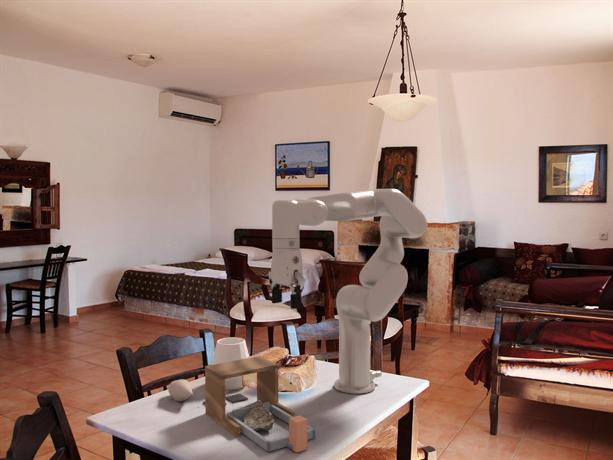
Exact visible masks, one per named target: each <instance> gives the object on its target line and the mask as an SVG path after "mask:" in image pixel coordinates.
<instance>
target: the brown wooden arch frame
mask: <svg viewBox="0 0 613 460" xmlns="http://www.w3.org/2000/svg"><path fill="white" fill-rule="evenodd" d="M255 373H256V402H257V401H258V400H260V401H261V402H262V403H265V402H270V405H271V404H272V405H274V406H276V407H278V408H279V409H281V410H283V411H284V412H286V413H288V414H289V415H291V416H293V417H296V415H295V414H296V413H295V411H294V410H292V409H291V408H289V407H287V406H285V405H283V404H281V403H280V402H279V364H278V363H277V362H274V361H271V360H270V359H267V358H266V357H263V356H262V355H261V356H260V355H257V356H252V357H249V358H246V359H241V360H236V361H230V362H225V363H220V364H214V365H212V364H210V365H205V366H204V381H205V382H204V385H205V387H204V389H205V390H204V393H205V394H204V396H205V397H204V398H205V400H204V401H202V404H203V405H204V406H205V414H206V416H208V417H210V418H211V419H212V420H214V421H215V422H216V423H217V424H219V425H220V426H222V427H223V428H224V429H225V430H227V431H228V432H230V433H231V434H232V435H233V436H235V437H236V438H238V437H241V432H240V426H239V425H238V424H236V423H235V422H233V421H232V420H231V419H229V418H228V416H226V406H227V403H226V401H228V402H230V403H232V404H236V403H240V402H244V401H248V400H249V398H248V397H247V396H245V395H243V394H242V393H235V394H231V395H228V396H226V389H225V379H228V378H233V377H238V376H243V375H248V374H252V375H253V374H255Z"/></svg>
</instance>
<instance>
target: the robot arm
mask: <svg viewBox="0 0 613 460" xmlns="http://www.w3.org/2000/svg"><path fill="white" fill-rule="evenodd" d="M271 206H272V208H271V211H272V213H271V215H272V216H271V217H272V218H271V220H272V221H271V222H272V224H271V227H272V228H271V229H272V230H271V231H272V232H271V233H272V234H271V235H272V236H271V237H272V238H271V239H272V254H271V268H270V269H271V270H269V271H268V279H269V283H270V290H271V304H279V303H280V304H281V303H283V288H282V286H283V287H289V289H290V292H291V293H290V296H289V298H290V309H292V310H294V309H295V310H296V309H301V308H302V294H303V290H304V288H305V283H306V278H305V277H304V268H303V267H304V266H303V258H302V252H301V250H300V226H309V227H314V226H315V227H317V226H319V225H322V224H323V223H325V221H326V222H327V221H328V222H329V221H332V222H350V221H356V220H361V219H367V218H368V219H369V218H375V217H380V220H379V232H380V244H379V246H378V248H377V249H376V251H375V252H374V253H373V254H372V255H371V257H370V258H369V260H367V262H366V263H365V264H364V266H363V267H362V269H361V270H360V273H359V275H358V276H359V277H358V278H359V282H360V284H361V285H359V284H348V285H345V286H342V288H340V289H339V290H338V292H337V295H336V298H335V303H336V304H335V305H336V311H337V317H338V325H339V326H338V328H339V329H338V331H339V334H338V335H339V337H338V340H339V341H338V343H339V344H338V346H339V347H338V349H339V350H338V360H339V361H338V379H336V380H335V381H333V387H334V389H335V390H337V391H339V392H342V393H346V394H366V393H370V392H372V391H374V390H375V388H376V383H375V382H374V380H375V379H376V378H381V377H382V373H383V372H382V371H381V370H375V371H373V370H372V369H371V327H370V326H371V325H370V323H369V322H378V321H381V320H383V319H384V318H385V317H386V316H387V314H388V313H389V312H390V311H391V309H392V308H394V307H393V306H394V305H395V304H396V303H397V301H398V300H399V299H400V297H401V296H402V295H403V293H404V291H405V289H406V288H407V284H408V280H409V276H408V271H407V268H405V266H404V265H402V264H401V263H402V262H403V259H404V256H405V250H404V244H403V238H404V239H405V238H406V239H418V238H420V237H422V236H423V235H424V234H425V233H426V231H427V229H428V228H427V227H428V222H427V218H426V217H425V215H424V213H423V212H422V210H420V209H419V207H417V205H415V203H413V201H412V200H411V199H410V198H409V197H408V196H406V195H405V193H403V192H401V191H400V190H399V189H396V188H372V189H366V190H357V191H348V192H340V193H333V194H328V195H319V196H312V197H311V196H310V197H304V198H302V197H301V198H295V199H277V200H274V201H273V202H272V205H271Z"/></svg>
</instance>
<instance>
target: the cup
mask: <svg viewBox="0 0 613 460" xmlns="http://www.w3.org/2000/svg"><path fill="white" fill-rule="evenodd" d="M247 357H249V358H250V354H249V351H248V347H247V343H246V339H244V338H242V337H224V338H220V339H218V340H217V341H216V345H215V348H214V352H213V357H212V362H211V365H214V364H220V363H225V362H230V361H236V360H241V359H245V358H247ZM242 388H244V387H243V386H242V376H238V377H233V378H228V379H225V391H227V390H229V391H230V390H240V389H242Z"/></svg>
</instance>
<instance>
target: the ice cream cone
mask: <svg viewBox="0 0 613 460" xmlns="http://www.w3.org/2000/svg"><path fill="white" fill-rule="evenodd" d="M167 390H168V394H169V395H170V396H171V398H172V399H174V400H175V401H176V402H184V401H186V400H188V399H189V398H190V397H191V396H192V395H193V389H192V385H191V383H190V382H189V381H188V380H187V379H178V380H174V381H171V382H170V383H169V385H168V388H167Z"/></svg>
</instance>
